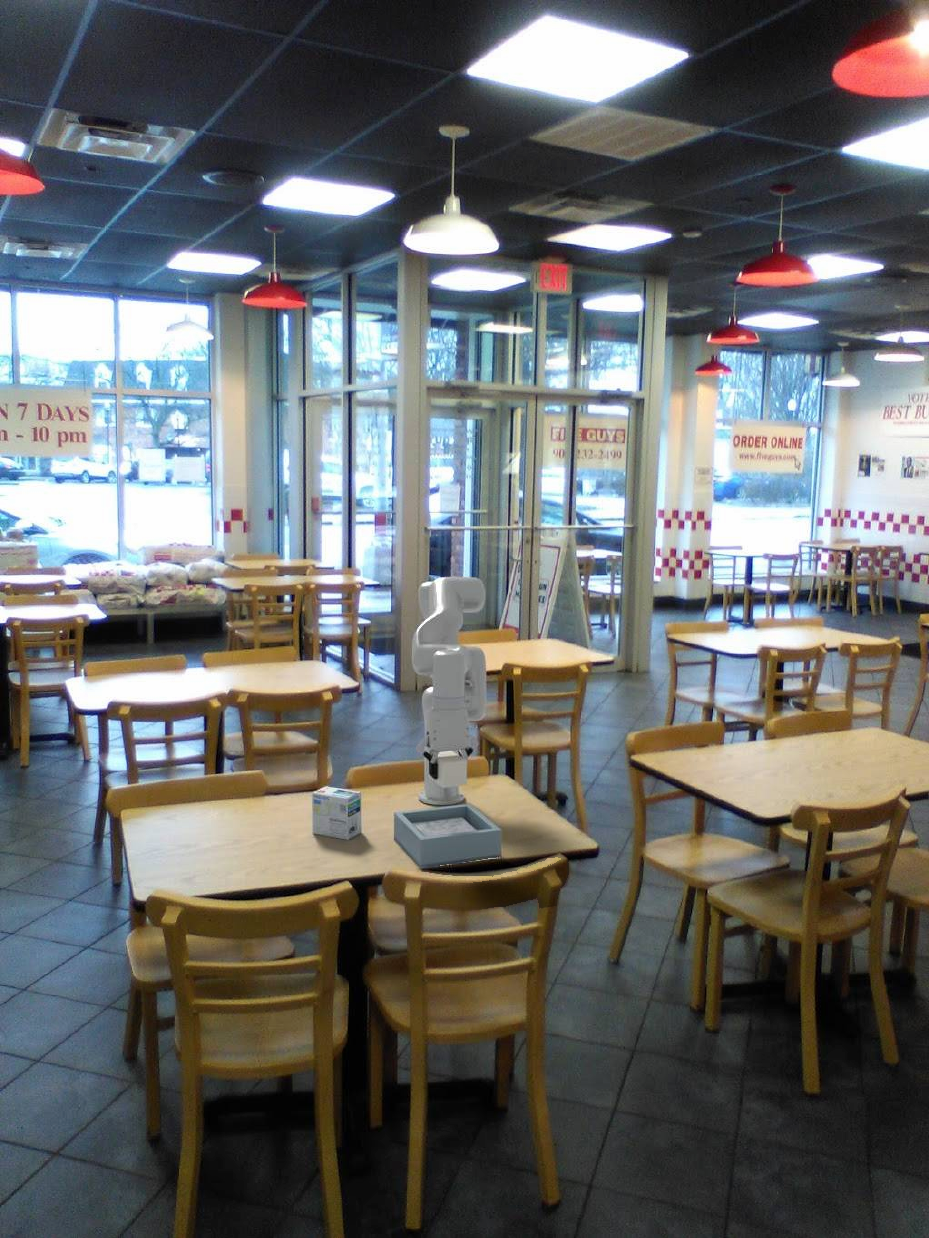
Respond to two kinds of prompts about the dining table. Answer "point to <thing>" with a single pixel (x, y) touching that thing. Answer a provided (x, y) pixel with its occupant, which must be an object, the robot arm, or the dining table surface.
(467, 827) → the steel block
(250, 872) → the dining table surface
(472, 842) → the tray
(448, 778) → the white rectangular block
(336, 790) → the light bulb box
